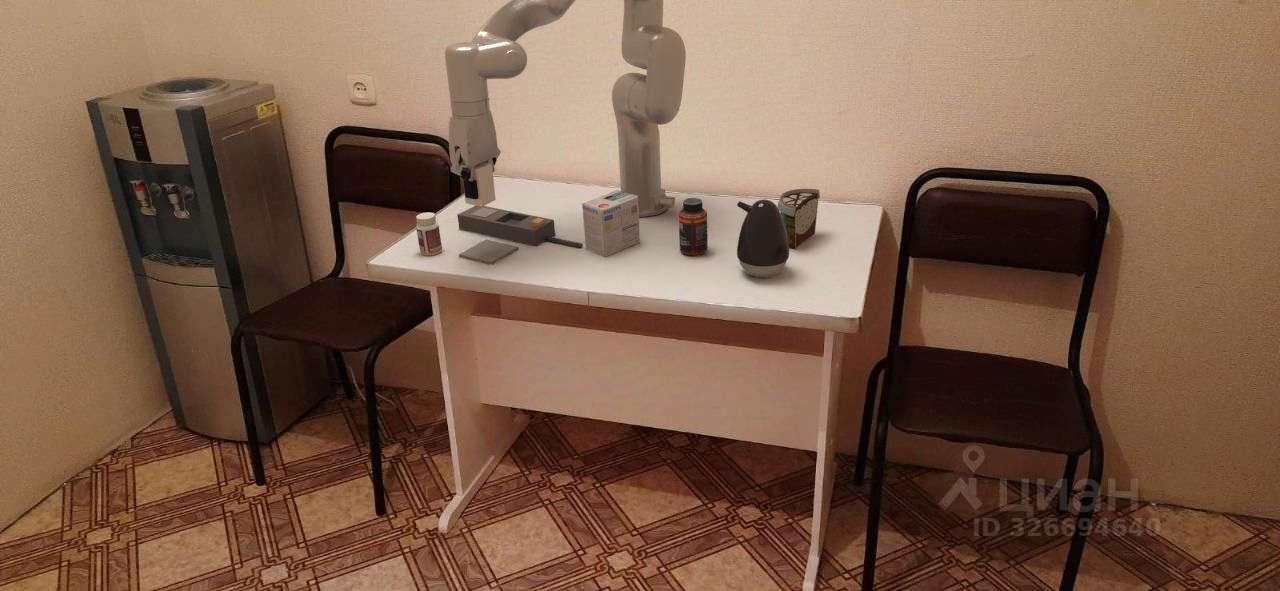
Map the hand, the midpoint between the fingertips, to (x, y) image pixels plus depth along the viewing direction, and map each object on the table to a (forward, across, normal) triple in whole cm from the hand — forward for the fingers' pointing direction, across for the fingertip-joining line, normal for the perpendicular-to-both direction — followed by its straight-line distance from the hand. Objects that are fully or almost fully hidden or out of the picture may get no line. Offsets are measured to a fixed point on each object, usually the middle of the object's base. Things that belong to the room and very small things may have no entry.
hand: (479, 193), depth 187 cm
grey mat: (+14, -1, 0) cm, 14 cm away
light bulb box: (+14, -16, +22) cm, 30 cm away
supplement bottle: (+13, -21, +39) cm, 46 cm away
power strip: (+13, -12, +1) cm, 18 cm away
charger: (+2, 0, 0) cm, 2 cm away
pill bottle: (+14, +4, -12) cm, 19 cm away
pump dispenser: (+13, -18, +56) cm, 60 cm away
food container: (+13, -36, +55) cm, 67 cm away
